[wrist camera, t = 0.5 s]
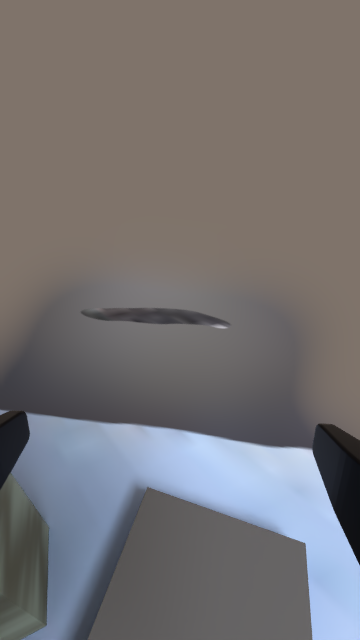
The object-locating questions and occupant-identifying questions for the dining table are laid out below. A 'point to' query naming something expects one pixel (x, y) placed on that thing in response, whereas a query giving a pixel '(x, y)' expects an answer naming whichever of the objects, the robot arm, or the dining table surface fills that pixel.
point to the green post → (22, 564)
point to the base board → (204, 579)
